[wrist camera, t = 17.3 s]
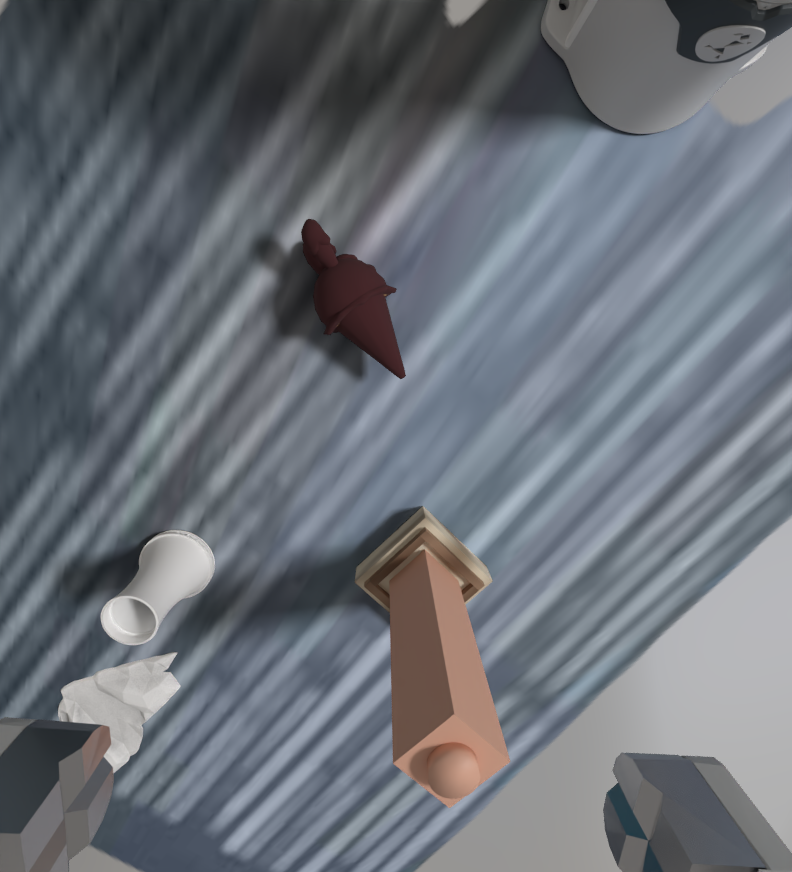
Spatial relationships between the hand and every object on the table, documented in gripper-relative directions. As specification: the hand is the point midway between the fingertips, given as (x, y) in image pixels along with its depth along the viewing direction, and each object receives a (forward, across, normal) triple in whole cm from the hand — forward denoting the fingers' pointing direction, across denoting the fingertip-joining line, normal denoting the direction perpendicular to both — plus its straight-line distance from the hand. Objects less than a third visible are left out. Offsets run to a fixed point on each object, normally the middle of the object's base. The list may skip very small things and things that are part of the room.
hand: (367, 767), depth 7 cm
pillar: (+36, -6, +18) cm, 41 cm away
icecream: (+39, +3, -8) cm, 40 cm away
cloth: (+40, +28, +41) cm, 64 cm away
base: (+39, -6, +18) cm, 44 cm away
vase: (+39, +20, +20) cm, 48 cm away
